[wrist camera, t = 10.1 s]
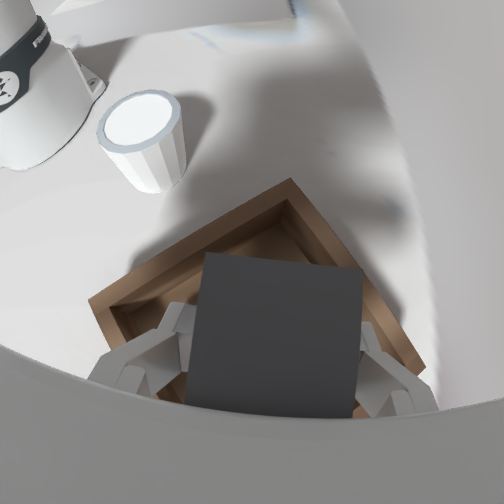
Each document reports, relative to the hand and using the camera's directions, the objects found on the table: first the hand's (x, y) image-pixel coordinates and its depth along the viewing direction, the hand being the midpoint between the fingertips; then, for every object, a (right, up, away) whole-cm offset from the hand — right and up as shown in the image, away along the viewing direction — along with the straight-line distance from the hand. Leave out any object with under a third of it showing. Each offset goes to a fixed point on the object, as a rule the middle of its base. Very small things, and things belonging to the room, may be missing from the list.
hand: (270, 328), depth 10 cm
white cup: (-9, +11, +16) cm, 22 cm away
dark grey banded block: (0, -2, +4) cm, 4 cm away
